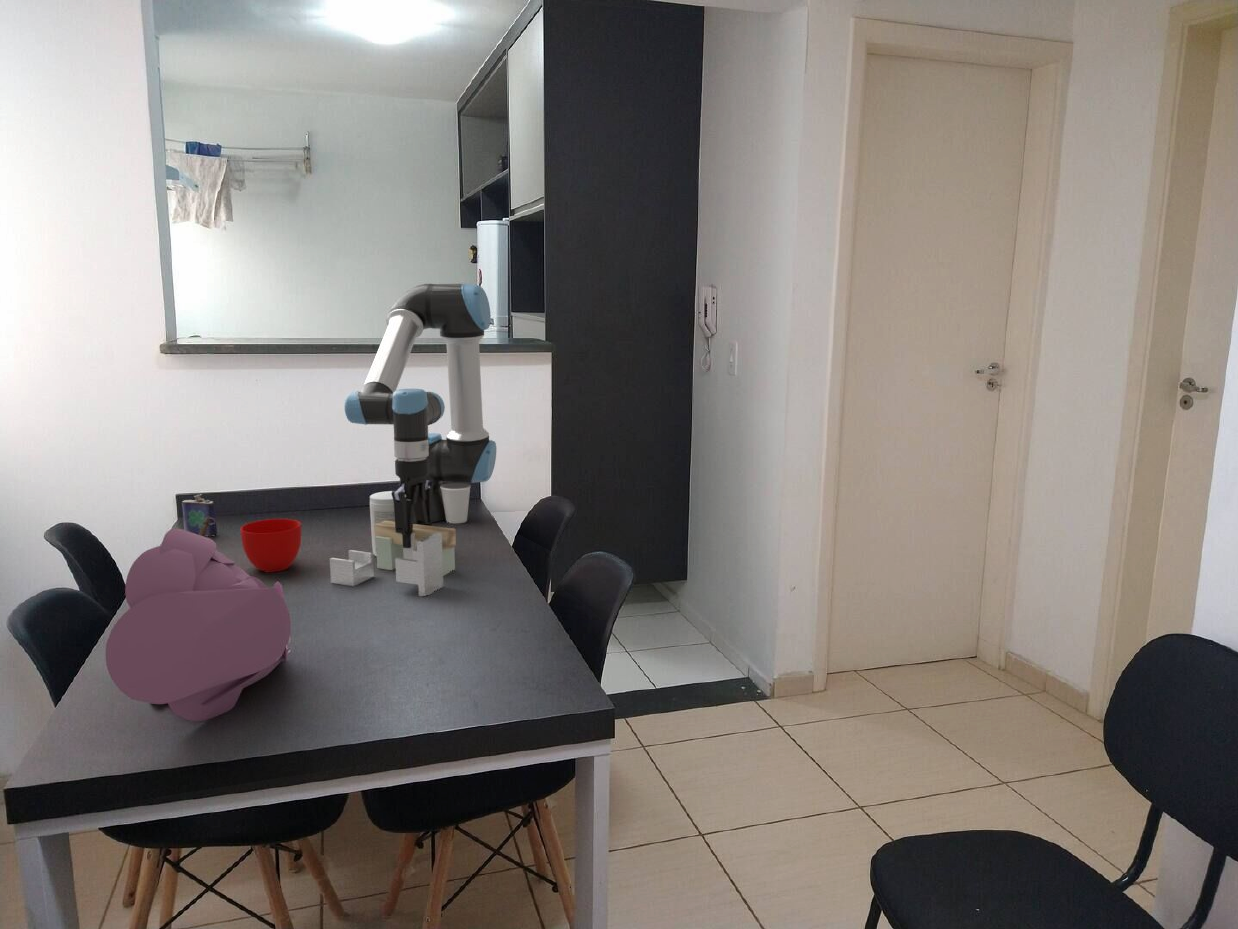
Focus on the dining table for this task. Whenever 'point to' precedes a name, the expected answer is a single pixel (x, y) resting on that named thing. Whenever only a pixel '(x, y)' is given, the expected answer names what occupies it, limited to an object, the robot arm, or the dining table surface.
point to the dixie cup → (456, 501)
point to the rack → (392, 551)
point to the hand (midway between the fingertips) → (415, 557)
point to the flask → (199, 515)
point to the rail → (416, 533)
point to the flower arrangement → (195, 629)
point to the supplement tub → (380, 512)
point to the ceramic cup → (271, 543)
